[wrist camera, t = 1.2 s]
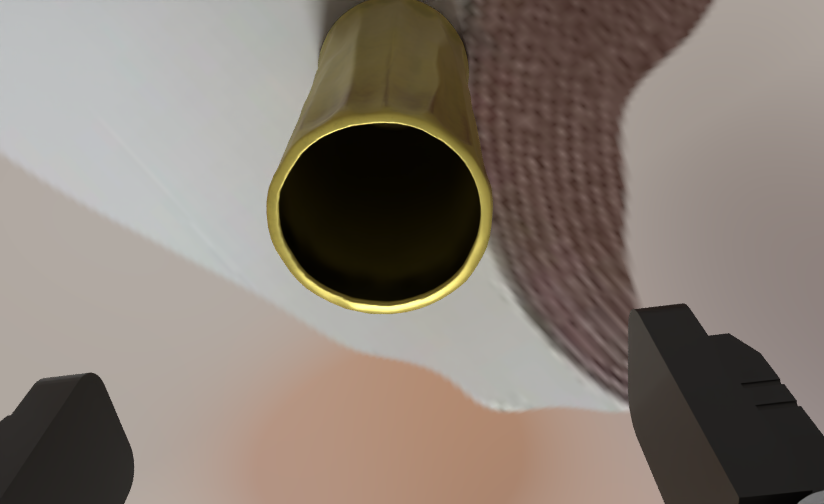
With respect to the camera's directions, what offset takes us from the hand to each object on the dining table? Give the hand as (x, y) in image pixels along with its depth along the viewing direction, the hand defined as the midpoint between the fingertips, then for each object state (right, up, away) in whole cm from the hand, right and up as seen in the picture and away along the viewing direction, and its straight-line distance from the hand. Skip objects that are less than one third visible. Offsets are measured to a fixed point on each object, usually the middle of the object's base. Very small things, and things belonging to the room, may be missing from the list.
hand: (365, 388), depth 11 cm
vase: (0, +9, +18) cm, 21 cm away
